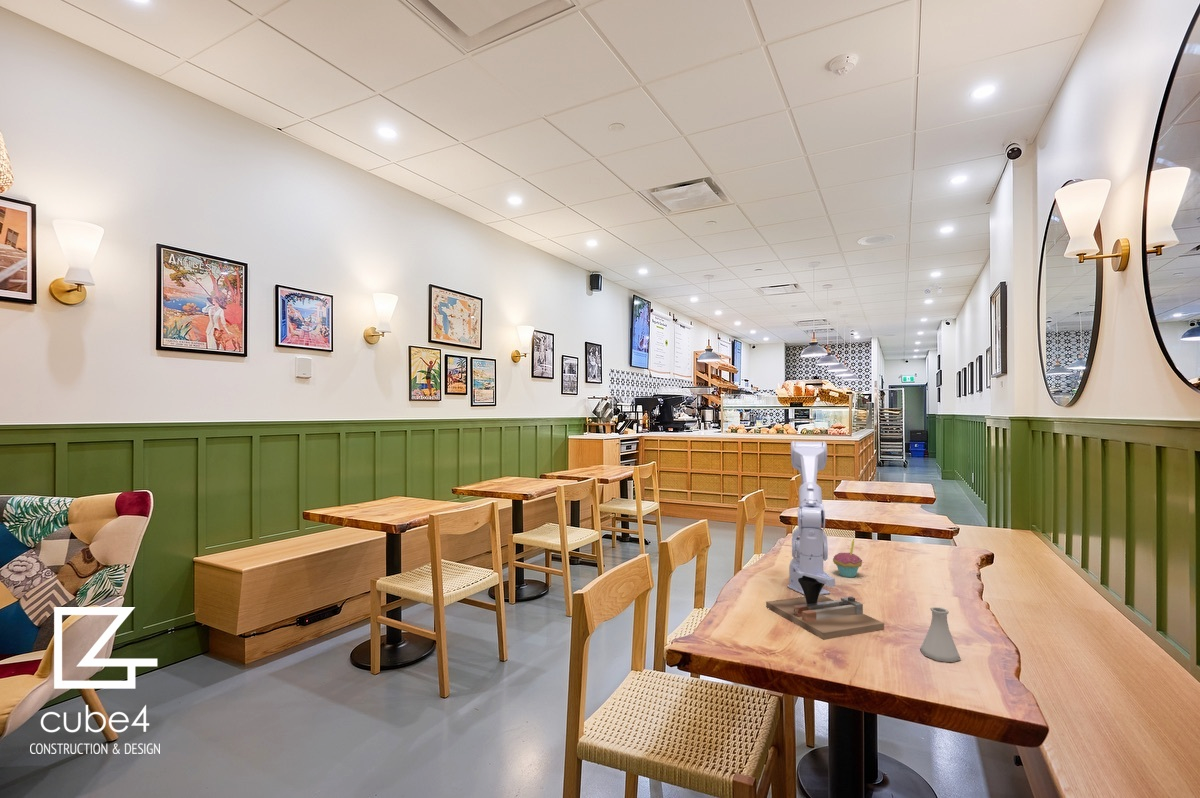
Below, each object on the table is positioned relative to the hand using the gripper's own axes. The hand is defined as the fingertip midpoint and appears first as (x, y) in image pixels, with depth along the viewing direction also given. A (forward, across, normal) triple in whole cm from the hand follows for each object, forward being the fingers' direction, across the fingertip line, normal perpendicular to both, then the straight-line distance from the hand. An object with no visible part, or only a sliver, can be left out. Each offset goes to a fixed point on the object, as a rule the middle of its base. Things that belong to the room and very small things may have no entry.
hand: (811, 606), depth 142 cm
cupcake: (+3, -26, +35) cm, 44 cm away
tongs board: (+3, +1, +2) cm, 4 cm away
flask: (+3, +27, +11) cm, 30 cm away
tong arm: (+1, +1, +1) cm, 2 cm away
